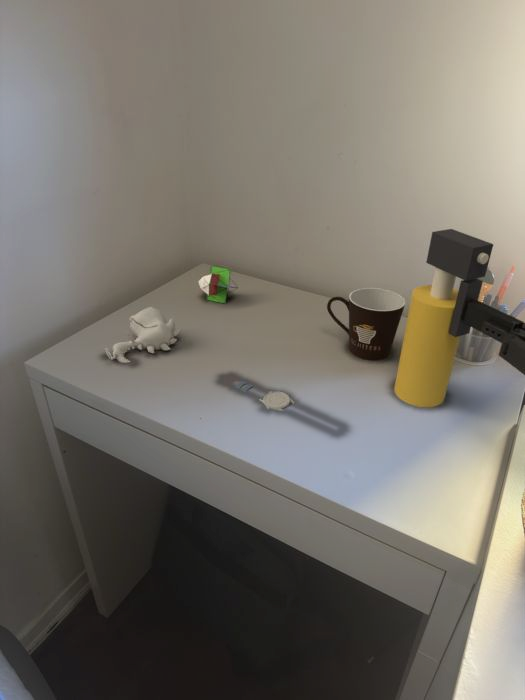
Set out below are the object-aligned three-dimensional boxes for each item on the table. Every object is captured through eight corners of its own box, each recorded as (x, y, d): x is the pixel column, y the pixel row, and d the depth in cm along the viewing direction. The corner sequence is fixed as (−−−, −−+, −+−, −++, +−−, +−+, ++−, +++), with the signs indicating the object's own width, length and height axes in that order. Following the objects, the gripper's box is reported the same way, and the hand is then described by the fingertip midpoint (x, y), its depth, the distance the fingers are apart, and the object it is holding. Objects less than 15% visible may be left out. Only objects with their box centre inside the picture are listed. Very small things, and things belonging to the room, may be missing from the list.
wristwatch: (231, 374, 76) (231, 369, 75) (348, 426, 66) (349, 420, 65) (213, 387, 73) (213, 381, 72) (332, 443, 63) (333, 437, 62)
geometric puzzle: (215, 277, 104) (202, 255, 97) (245, 283, 101) (234, 260, 94) (202, 307, 101) (189, 286, 94) (233, 313, 99) (221, 292, 92)
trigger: (461, 329, 64) (475, 277, 60) (469, 333, 63) (483, 281, 59) (448, 333, 63) (460, 280, 59) (455, 337, 62) (468, 284, 58)
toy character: (96, 347, 81) (159, 315, 87) (125, 385, 78) (188, 349, 84) (91, 326, 77) (158, 293, 82) (121, 365, 74) (188, 328, 79)
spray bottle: (419, 379, 76) (453, 223, 64) (462, 410, 70) (509, 243, 57) (383, 390, 73) (411, 230, 61) (424, 423, 67) (465, 251, 55)
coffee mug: (406, 358, 81) (417, 302, 76) (368, 373, 77) (377, 316, 72) (356, 329, 90) (363, 278, 84) (320, 342, 85) (324, 288, 80)
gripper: (628, 477, 42) (424, 350, 59) (706, 431, 47) (497, 327, 65) (667, 405, 38) (436, 292, 56) (746, 364, 43) (513, 273, 61)
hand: (469, 311), depth 60 cm, fingers closed
